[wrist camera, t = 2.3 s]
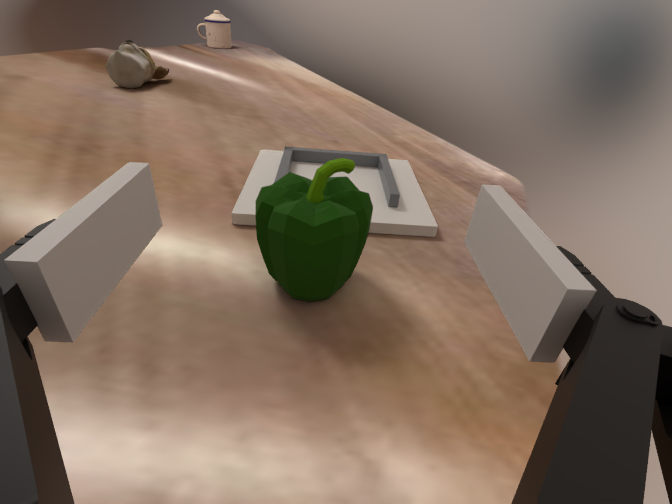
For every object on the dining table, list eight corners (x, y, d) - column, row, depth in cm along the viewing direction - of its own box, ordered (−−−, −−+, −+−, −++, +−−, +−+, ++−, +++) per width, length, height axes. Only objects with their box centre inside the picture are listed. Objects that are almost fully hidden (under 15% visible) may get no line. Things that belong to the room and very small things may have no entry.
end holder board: (232, 224, 36) (230, 198, 35) (261, 158, 51) (260, 138, 50) (435, 237, 37) (441, 213, 36) (406, 168, 52) (409, 149, 51)
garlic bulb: (84, 38, 71) (118, 36, 84) (95, 88, 75) (126, 79, 88) (144, 44, 72) (168, 41, 85) (151, 92, 76) (173, 83, 89)
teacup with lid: (233, 46, 145) (231, 11, 139) (230, 49, 138) (227, 12, 131) (201, 44, 144) (197, 8, 137) (196, 47, 136) (192, 8, 130)
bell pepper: (250, 314, 27) (241, 183, 21) (264, 249, 33) (260, 137, 28) (368, 318, 27) (390, 192, 22) (358, 253, 34) (373, 145, 28)
